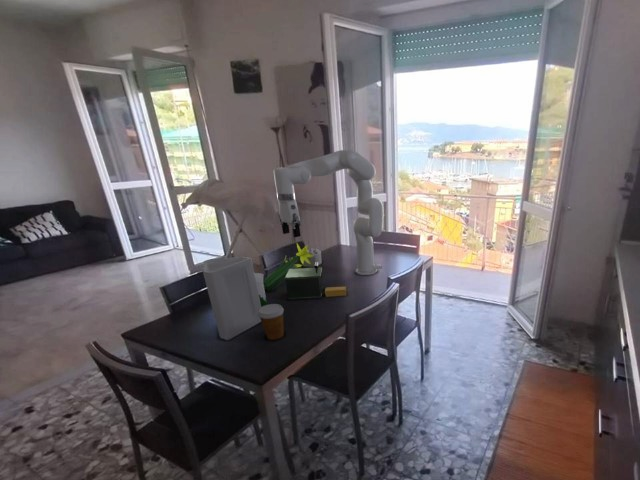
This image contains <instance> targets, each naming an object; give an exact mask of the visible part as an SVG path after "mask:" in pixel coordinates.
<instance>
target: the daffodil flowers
mask: <svg viewBox="0 0 640 480" xmlns="http://www.w3.org/2000/svg"><path fill="white" fill-rule="evenodd" d="M296 248H297V251H298V252H296V253H295V254H294V255H293V257H291V258H289V260H287V256H285V258H284V259H283V260H282V262H281V263H280V264H279V265H278V266H277V267H276V268H275V269H274V270H273V272H271V273H270V274H269V275H267V277H265V278H263V285H264V290H266V291H268V292H269V291H272V292H274V291H275V290H276V289H277V288H278V287H279V286H280V285H281V284H282V283H283V282H284V281H285V277H286V275H287V273H288V271H289V269H297V268H302V267H303V265H302V264H303V263H304V260H305V261H306V262H307V263H309V264H311V263H310V262H309V260H308V259H307V257H313V255H311V254H308V251H307V250H308V248H309V244H305V246H304V247H302V248H301V247H300V245H299V244H298V242H296ZM299 260H300V262H301V264H300V263H299V262H298V261H299Z"/></svg>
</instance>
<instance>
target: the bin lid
mask: <svg viewBox="0 0 640 480" xmlns="http://www.w3.org/2000/svg"><path fill="white" fill-rule="evenodd" d="M322 272H323V266H319V265H318V262H316V263H315V265H314V267H303V268H302V267H300V268H297V269H289V271H288V273H287V275H286V277H285V279H298V278H316V277H320V276H321V274H322Z"/></svg>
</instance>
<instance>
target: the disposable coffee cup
mask: <svg viewBox="0 0 640 480" xmlns="http://www.w3.org/2000/svg"><path fill="white" fill-rule="evenodd" d="M284 310H285V309H284V307H283V306H282V305H281V304H278V303H270V304H268V305H265V306H263V307H261V308H260V309H259V312H258V315H259V317H260V319H261V324H262V327H263V329H264V332H265V335H266V338H267V339H268V340H273V341H274V340H279V339H281V338H283V337H284Z"/></svg>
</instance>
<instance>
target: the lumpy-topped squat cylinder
mask: <svg viewBox="0 0 640 480" xmlns="http://www.w3.org/2000/svg"><path fill="white" fill-rule="evenodd" d="M307 251H308V254H311V255H313V257H307V259H308V260H309V262H310V263H311V264H309V263H307V262H306V261H305V260H304V263H303V264H302V263H301V265H302V267H307V268H314V265H315V263H316V262H318V266H320V265H321V264H322V263H323V262H322V261H323V260H322V252H321V250H320V249H317V248H310V249H307Z"/></svg>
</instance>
